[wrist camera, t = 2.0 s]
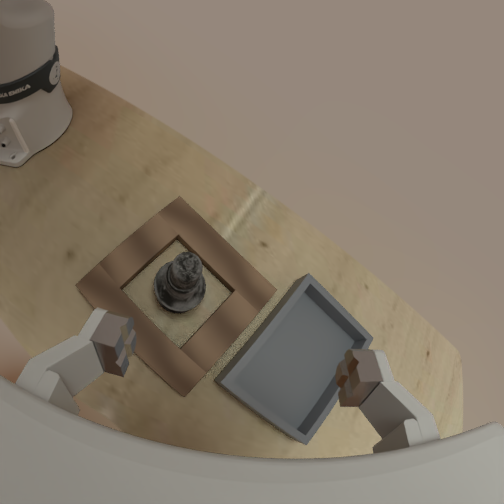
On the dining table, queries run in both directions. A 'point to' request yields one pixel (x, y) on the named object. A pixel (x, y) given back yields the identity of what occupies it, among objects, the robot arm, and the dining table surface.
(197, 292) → the dark piece
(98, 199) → the dining table surface
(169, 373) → the socket block
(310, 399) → the parts tray
